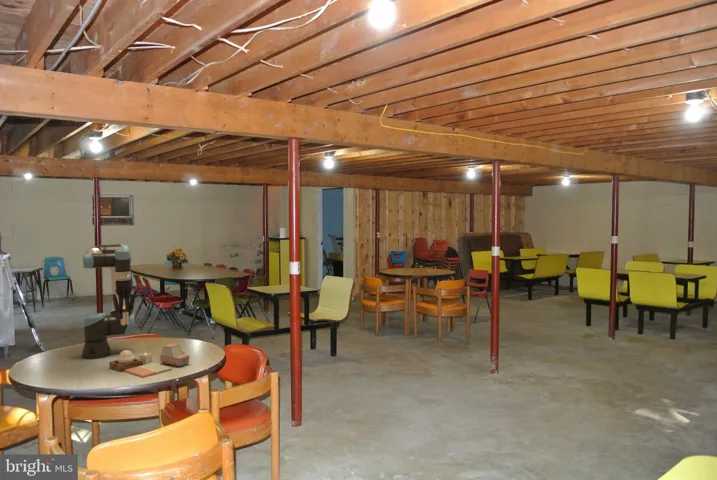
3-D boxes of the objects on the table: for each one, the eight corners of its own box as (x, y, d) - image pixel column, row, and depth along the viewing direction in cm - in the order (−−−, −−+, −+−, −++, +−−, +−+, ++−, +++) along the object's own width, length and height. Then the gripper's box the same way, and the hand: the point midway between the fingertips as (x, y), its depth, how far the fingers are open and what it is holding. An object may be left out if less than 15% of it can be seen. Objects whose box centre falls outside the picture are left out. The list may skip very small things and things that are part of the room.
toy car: (177, 368, 281) (177, 349, 280) (157, 364, 289) (157, 346, 288) (191, 364, 289) (191, 345, 289) (172, 360, 297) (171, 342, 296)
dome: (114, 363, 284) (114, 350, 284) (129, 359, 290) (129, 347, 290) (122, 365, 279) (122, 352, 279) (137, 362, 285) (137, 349, 285)
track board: (124, 371, 276) (124, 369, 276) (153, 364, 289) (153, 362, 289) (142, 377, 266) (142, 375, 266) (171, 369, 278) (171, 368, 278)
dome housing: (109, 367, 284) (109, 362, 283) (131, 362, 293) (130, 356, 293) (121, 371, 276) (121, 365, 276) (143, 366, 286) (143, 360, 286)
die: (139, 362, 292) (139, 353, 292) (145, 360, 296) (145, 351, 296) (145, 363, 290) (145, 354, 290) (151, 361, 294) (151, 352, 294)
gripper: (113, 281, 274) (115, 327, 275) (140, 278, 285) (141, 323, 287) (106, 280, 279) (107, 326, 280) (132, 277, 290) (134, 321, 291)
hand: (124, 324), depth 283 cm, fingers closed
